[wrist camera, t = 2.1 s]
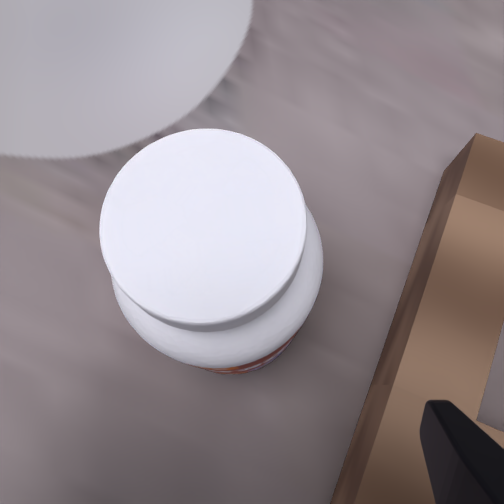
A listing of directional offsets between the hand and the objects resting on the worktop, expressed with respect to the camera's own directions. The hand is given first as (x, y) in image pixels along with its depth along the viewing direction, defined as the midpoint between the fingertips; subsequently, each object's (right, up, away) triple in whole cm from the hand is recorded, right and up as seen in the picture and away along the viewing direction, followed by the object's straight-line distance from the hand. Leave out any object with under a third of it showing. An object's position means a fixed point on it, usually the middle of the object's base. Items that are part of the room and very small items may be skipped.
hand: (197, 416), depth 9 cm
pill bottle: (0, +1, +12) cm, 12 cm away
